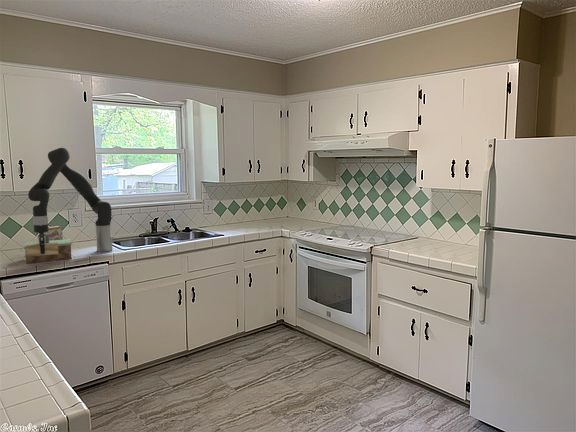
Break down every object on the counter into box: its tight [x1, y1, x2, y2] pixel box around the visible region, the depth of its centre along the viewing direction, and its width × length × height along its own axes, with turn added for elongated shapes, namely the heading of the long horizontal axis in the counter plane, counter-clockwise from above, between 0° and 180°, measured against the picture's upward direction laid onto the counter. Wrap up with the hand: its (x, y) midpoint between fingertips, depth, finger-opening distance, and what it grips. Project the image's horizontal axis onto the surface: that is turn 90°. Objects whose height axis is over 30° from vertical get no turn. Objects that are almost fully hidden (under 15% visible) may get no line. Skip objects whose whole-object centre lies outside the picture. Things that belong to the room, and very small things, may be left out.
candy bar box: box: [44, 225, 64, 241], centre depth 297 cm, size 11×5×16 cm, turn 141°
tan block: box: [25, 243, 58, 257], centre depth 259 cm, size 4×16×6 cm, turn 119°
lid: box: [23, 234, 73, 249], centre depth 274 cm, size 25×15×6 cm, turn 119°
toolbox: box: [24, 245, 72, 265], centre depth 275 cm, size 24×14×9 cm, turn 119°
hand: (42, 252), depth 259 cm, fingers closed on tan block, 4 cm apart
